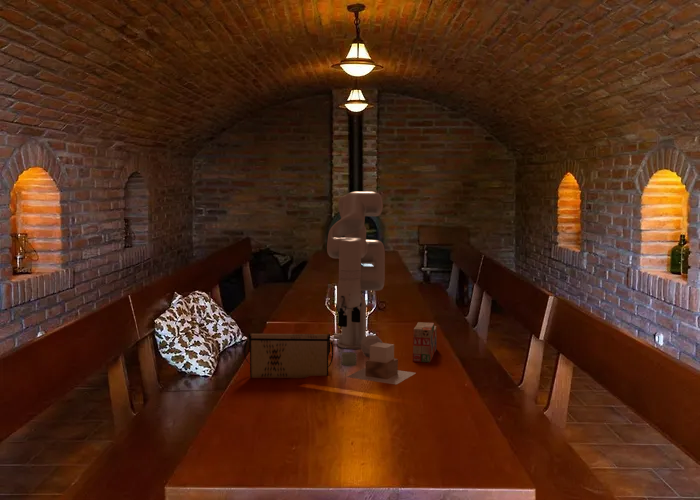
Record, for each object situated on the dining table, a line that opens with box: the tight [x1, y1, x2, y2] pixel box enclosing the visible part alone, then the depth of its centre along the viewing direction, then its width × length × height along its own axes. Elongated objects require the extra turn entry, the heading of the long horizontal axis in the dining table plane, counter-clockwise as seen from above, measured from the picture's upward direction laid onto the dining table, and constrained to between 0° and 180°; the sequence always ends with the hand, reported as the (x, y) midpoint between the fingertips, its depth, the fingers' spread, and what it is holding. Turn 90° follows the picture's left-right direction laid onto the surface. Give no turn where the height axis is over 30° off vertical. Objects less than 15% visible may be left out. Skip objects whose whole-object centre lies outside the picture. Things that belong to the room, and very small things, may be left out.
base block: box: [365, 357, 399, 379], centre depth 244 cm, size 8×8×5 cm
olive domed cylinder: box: [341, 351, 357, 367], centre depth 258 cm, size 5×5×5 cm
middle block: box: [369, 342, 395, 363], centre depth 244 cm, size 6×6×5 cm
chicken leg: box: [360, 334, 383, 358], centre depth 269 cm, size 8×18×8 cm, turn 7°
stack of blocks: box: [412, 321, 438, 363], centre depth 277 cm, size 21×6×12 cm, turn 167°
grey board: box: [346, 366, 417, 385], centre depth 244 cm, size 18×16×1 cm
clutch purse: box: [243, 333, 335, 379], centre depth 245 cm, size 30×7×15 cm, turn 91°
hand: (349, 324), depth 256 cm, fingers open, 9 cm apart
